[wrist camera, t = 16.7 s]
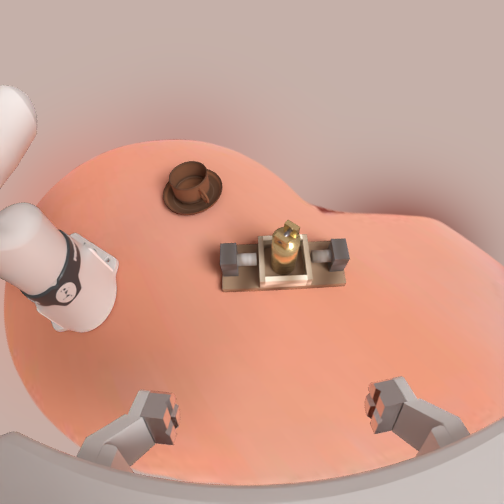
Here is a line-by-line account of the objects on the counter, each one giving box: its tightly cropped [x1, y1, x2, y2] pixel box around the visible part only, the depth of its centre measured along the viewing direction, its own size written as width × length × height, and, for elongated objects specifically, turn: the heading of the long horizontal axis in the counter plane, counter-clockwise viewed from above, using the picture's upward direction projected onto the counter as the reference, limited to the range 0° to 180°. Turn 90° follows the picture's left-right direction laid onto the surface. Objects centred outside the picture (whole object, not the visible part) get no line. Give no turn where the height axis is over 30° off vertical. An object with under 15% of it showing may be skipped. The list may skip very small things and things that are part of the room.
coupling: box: [271, 220, 301, 275], centre depth 42 cm, size 4×4×10 cm
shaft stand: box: [220, 234, 350, 292], centre depth 45 cm, size 20×8×6 cm, turn 92°
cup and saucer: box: [163, 161, 222, 215], centre depth 54 cm, size 12×12×6 cm
